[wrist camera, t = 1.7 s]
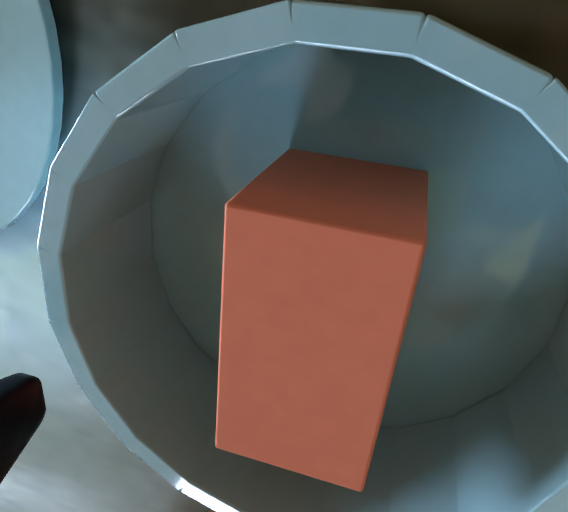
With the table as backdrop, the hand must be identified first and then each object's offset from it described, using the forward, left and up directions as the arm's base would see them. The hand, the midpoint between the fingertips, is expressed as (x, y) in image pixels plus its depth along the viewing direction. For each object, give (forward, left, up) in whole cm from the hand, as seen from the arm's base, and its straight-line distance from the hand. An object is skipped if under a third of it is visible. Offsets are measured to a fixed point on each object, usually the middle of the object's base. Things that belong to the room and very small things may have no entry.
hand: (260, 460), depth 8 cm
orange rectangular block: (0, 0, -8) cm, 8 cm away
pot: (0, 0, -8) cm, 8 cm away
